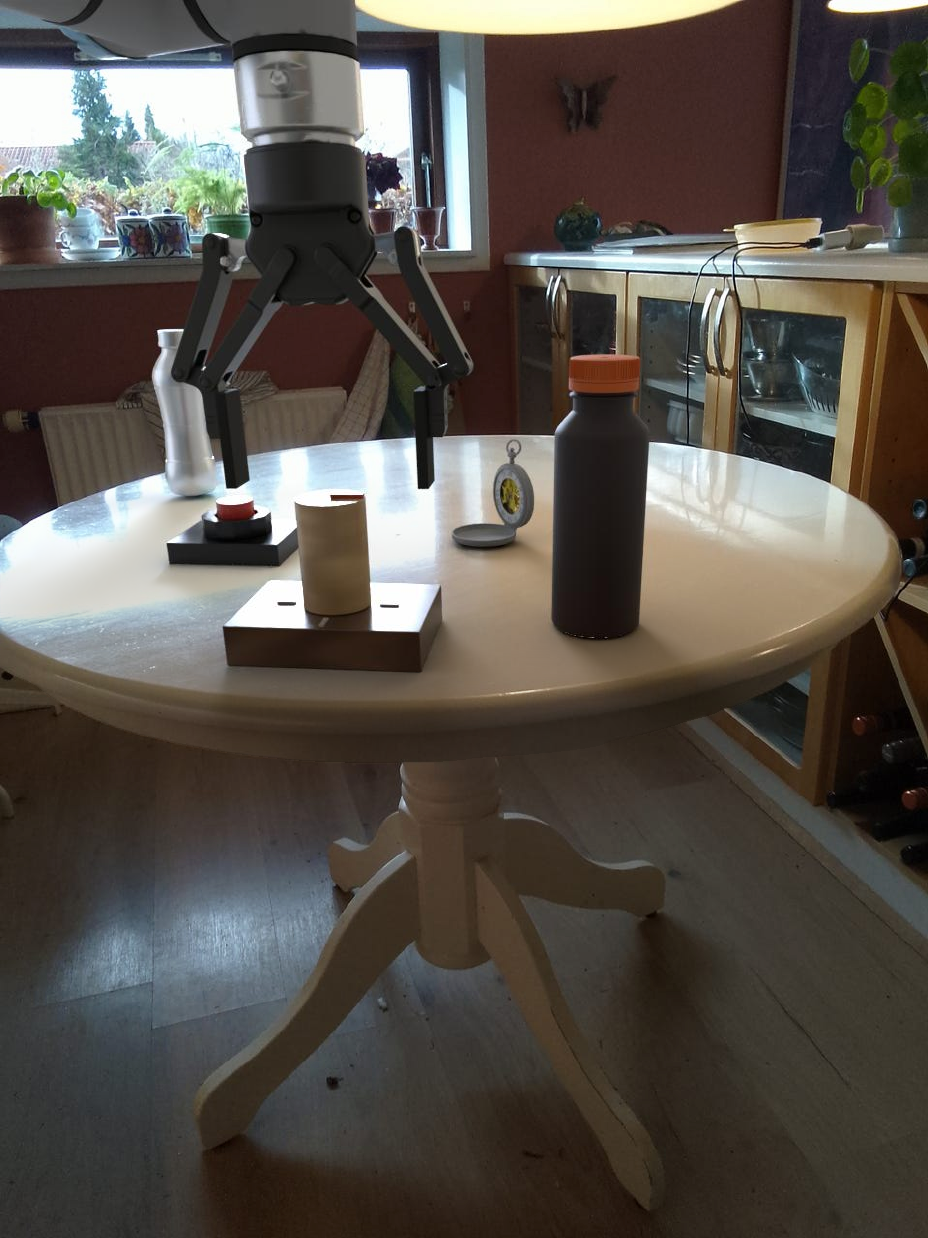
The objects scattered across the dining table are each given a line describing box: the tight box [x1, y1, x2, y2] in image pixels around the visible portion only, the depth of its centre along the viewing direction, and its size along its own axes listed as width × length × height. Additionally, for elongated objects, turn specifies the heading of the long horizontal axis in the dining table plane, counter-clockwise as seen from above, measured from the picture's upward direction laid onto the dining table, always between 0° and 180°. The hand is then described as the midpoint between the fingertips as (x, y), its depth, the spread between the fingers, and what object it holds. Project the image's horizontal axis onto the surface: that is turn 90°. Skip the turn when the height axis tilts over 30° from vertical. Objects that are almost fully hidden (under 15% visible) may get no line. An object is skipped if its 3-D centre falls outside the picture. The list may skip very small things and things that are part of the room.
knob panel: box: [222, 580, 443, 673], centre depth 67 cm, size 14×10×3 cm
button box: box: [166, 505, 299, 568], centre depth 89 cm, size 11×9×4 cm
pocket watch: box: [451, 438, 535, 548], centre depth 90 cm, size 8×8×10 cm
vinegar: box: [550, 353, 651, 639], centre depth 66 cm, size 7×7×20 cm
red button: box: [215, 495, 255, 519], centre depth 88 cm, size 4×4×2 cm
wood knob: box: [293, 489, 372, 615], centre depth 64 cm, size 5×5×8 cm
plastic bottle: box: [151, 328, 219, 497], centre depth 110 cm, size 6×7×20 cm
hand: (331, 485), depth 63 cm, fingers open, 13 cm apart
